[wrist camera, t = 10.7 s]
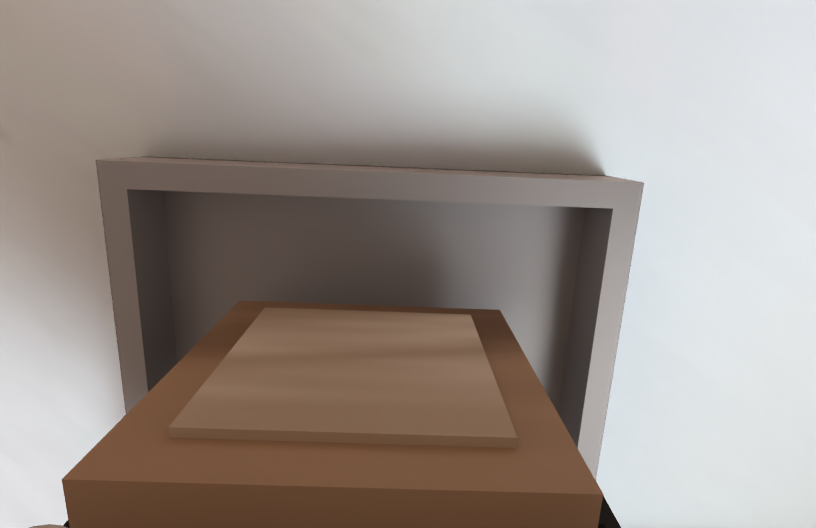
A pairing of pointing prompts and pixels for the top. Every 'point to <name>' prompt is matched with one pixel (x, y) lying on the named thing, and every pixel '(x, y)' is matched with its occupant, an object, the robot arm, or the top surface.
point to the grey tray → (373, 258)
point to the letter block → (341, 429)
